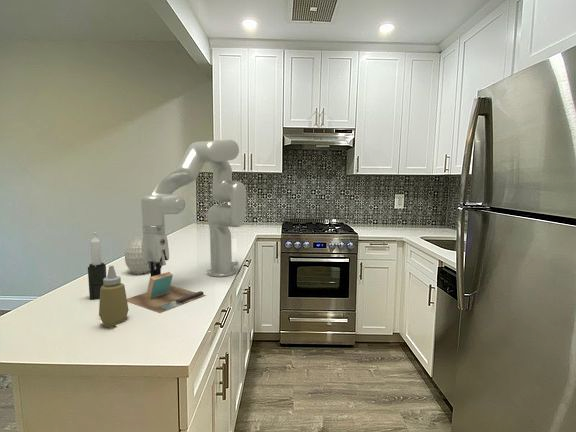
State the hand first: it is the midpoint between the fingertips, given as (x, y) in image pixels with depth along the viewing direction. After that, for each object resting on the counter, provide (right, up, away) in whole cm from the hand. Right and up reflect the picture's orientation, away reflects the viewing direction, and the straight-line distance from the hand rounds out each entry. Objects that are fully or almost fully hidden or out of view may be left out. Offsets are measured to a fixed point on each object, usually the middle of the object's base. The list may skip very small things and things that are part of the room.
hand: (155, 279), depth 127 cm
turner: (+11, -7, -6) cm, 14 cm away
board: (+4, -7, -2) cm, 9 cm away
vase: (-20, -3, +34) cm, 40 cm away
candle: (-20, -8, -1) cm, 21 cm away
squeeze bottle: (-5, -10, -21) cm, 24 cm away
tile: (+1, -6, 0) cm, 6 cm away
